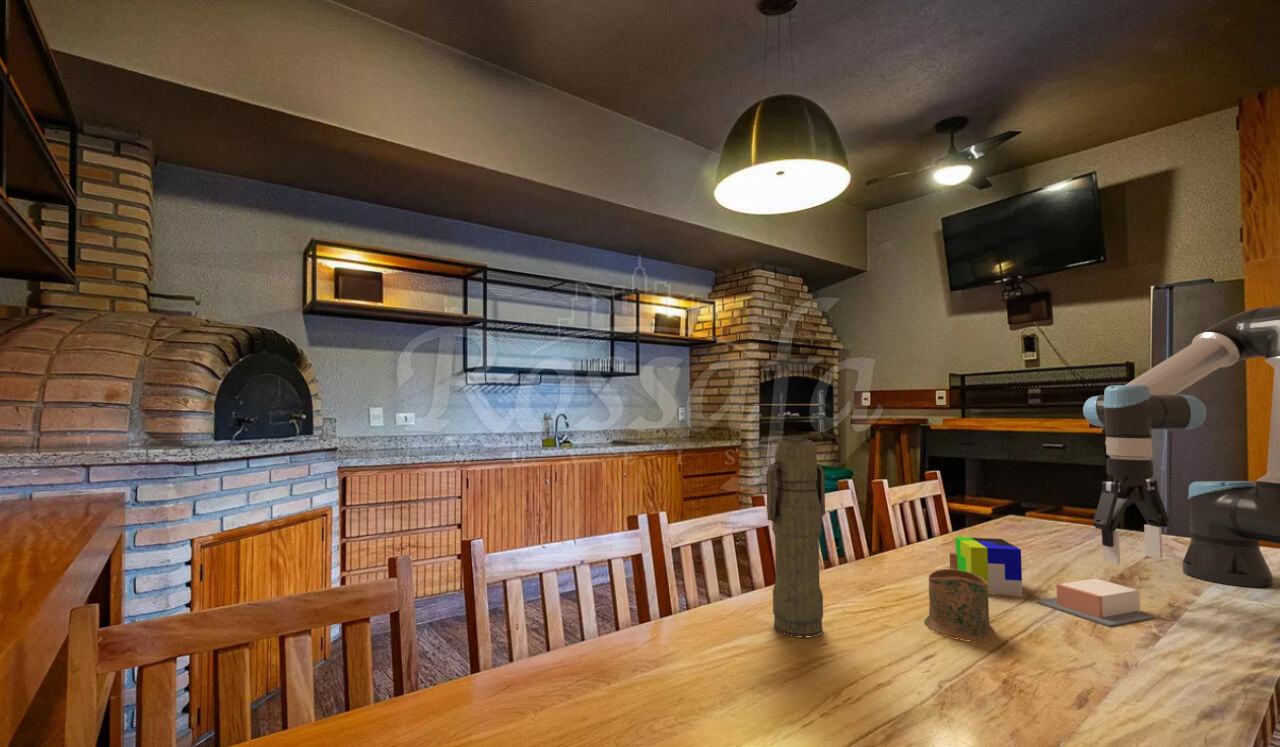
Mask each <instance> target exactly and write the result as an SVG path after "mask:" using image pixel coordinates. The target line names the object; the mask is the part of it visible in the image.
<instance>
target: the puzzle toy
mask: <svg viewBox="0 0 1280 747" xmlns="http://www.w3.org/2000/svg"><path fill="white" fill-rule="evenodd" d="M955 552H957V560H958V570H962V571H966V572H970V573H973V574H975V575H977V576H979V577H981V578H982V579H983V580H985V581H986V582H987V583H988V593H994V594H993V595H998V594H1009V595H1008V596H1015V595H1023V571H1022V570H1023V569H1022V568H1023V567H1022V549H1021V548H1019V547H1017V546H1015V545H1013V544H1011V543H1010V542H1008V541H1006V540H1005V539H1003V538H987V537H986V538H984V537H967V536H966V537H963V536H959V537H958V536H955Z"/></svg>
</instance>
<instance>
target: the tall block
mask: <svg viewBox="0 0 1280 747" xmlns="http://www.w3.org/2000/svg"><path fill="white" fill-rule="evenodd" d="M1056 597H1057V604H1058V605H1061V606H1064V607H1067V608H1070V609H1073V610H1076V611H1080V612H1083V613H1086V614H1089V615H1092V616H1095V617H1098V618H1101V617H1107V616H1112V615H1118V614H1123V613H1129V612H1134V611H1138V612H1140V611H1141V602H1140V599H1141V598H1140V590H1139V589H1136V588H1132V587H1128V586H1125V585H1122V584H1118V583H1115V582H1111V581H1110V582H1109V581H1106V580H1103V579H1098V578H1092V579H1091V578H1090V579H1085V580H1077V581H1071V582H1065V583H1064V582H1063V583H1058V584H1056Z"/></svg>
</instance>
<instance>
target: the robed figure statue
mask: <svg viewBox="0 0 1280 747" xmlns="http://www.w3.org/2000/svg"><path fill="white" fill-rule="evenodd" d="M825 477H826V476H825V469H824V467H823V466H822V464H820V463H818V457H817V451H816V449H815V446H814V442H813V441H812V440H809V438H806V437H783V438H782V439H780V440H778V443H777V444H776V448H775V452H774V462H773V463H771V464H769V467H768V468H767V470H766V512H767V520H768V521H771V522H772V523H771V524H772V532H773V534H774V542H775V543H774V548H775V549H774V551H775V552H774V554H775V555H774V557H775V561H774V563H775V565H774V566H775V582H774V585H773V589H772V612H773V615H774V616H773V618H774V622H773V627H775V628H776V629H777V630H778V631H780V632H782V633H785V634H788V635H792V636H798V637H797V638H799V636H801V637H806V636H815V635H818V634H820V633H821V632H822V633H823V618H824V597H823V596H824V595H823V592H822V589H821V586H820V540H819V539H820V537H821V534H822V518H823V517H824V515H826V493H825V492H826V489H825V488H826V487H825V485H826V483H825ZM775 628H774V629H775ZM776 629H775V630H776ZM777 630H776V631H777ZM778 631H777V632H778ZM780 632H779V633H780ZM782 633H781V634H782ZM822 633H821V634H822ZM821 634H820V635H821ZM788 635H787V636H788ZM792 636H791V637H792ZM818 636H819V635H818ZM815 637H816V636H815Z"/></svg>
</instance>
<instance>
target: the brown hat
mask: <svg viewBox="0 0 1280 747" xmlns="http://www.w3.org/2000/svg"><path fill="white" fill-rule="evenodd" d="M928 597H929V601H928V602H929V605H928V606H929V608H928V609H929V612H928V615H927V617H926V618H925V619H924V620H923V625H924V624H925V625H926V626H927V627H928V628H929V629H931V630H933V631H935V632H937V633H939V634H942V635H946V636H949V637H953V638H958V639H963V640H970V641H984V640H989V641H991V640H990V639H992V638H994V637H995V638H996V636H997V634H996V630H995V629H994V628H993V627H992V626H991V624H990V613H989V612H990V608H989V594H988V583H987V582H986V581H985V580H983V579H982V578H981V577H979V576H977V575H975V574H973V573H970V572H966V571H962V570H958V560H957V552H956V551H954V550H953V551H949V568H945V569H943V568H942V569H937V570H935V571H933V572H931V573H930V574H929V575H928ZM925 625H924V626H925ZM929 629H928V630H929ZM995 635H996V636H995ZM995 638H994V639H995ZM992 640H993V639H992ZM970 641H969V642H970ZM984 642H985V641H984Z"/></svg>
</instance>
